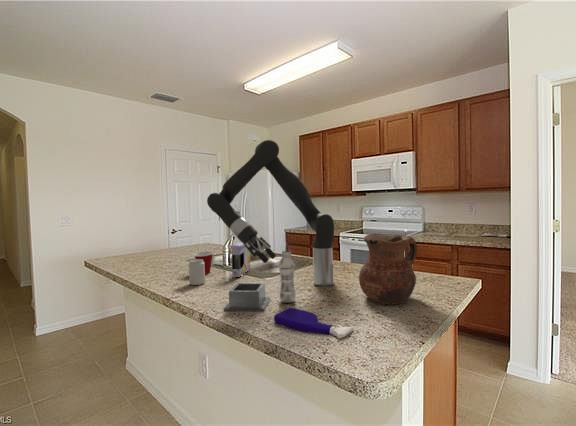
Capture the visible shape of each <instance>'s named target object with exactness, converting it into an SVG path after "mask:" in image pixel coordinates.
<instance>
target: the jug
mask: <svg viewBox="0 0 576 426" xmlns="http://www.w3.org/2000/svg"><path fill="white" fill-rule="evenodd" d="M363 240H364V242H365V244H366V246H367V248H368V255H369V256H368V260H367V261H366V262H365V263H364V264H363V265H362V266H361V268H360V271H359V274H358V275H359V276H358V281H359V285H360V289H361V291H362V292H363V294H364V295H365V297H367V298H368V299H370V300H371V301H373V302H374V303H377V304H380V305H381V304H382V305H397V304H402V303H404V302H406V301H407V300H408V299H409V298H410V297H411V295H413V291H414V289H415V287H416V283H417V278H416V276H417V275H416V274H415V272H414V270H413V266H412V265H413V264H414V262H415V259H416V257H417V255H418V245H417V242H416V240H415V239H414V238H413V237H412V236H409V235H406V234H401V235H399V234H389V235H388V234H383V233H381V234H380V233H371V234H368V235H367V234H366V235H365V236H364V237H363ZM408 245H409V252H408V255H406V257H405V251H406V249H407V247H408Z"/></svg>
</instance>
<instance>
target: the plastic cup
mask: <svg viewBox="0 0 576 426" xmlns="http://www.w3.org/2000/svg"><path fill="white" fill-rule="evenodd" d="M213 254H214V251H212V250H205V251H199V252H195V253H194V254H193V256H194V258H195V259H202V260H203V262H204V263H205V274H206V275H209V274H211V269H212V261H213V260H212V259H213ZM208 273H209V274H208Z"/></svg>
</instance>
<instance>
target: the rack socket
mask: <svg viewBox="0 0 576 426" xmlns="http://www.w3.org/2000/svg"><path fill="white" fill-rule="evenodd" d="M270 301H271V297H270V296H266V283H265V282H237V283H236V284H235V285H234V286H232V287H231V289H230V290H229V291H228V303H227V304H226V305H225V306H224V307H223V311H224V312H265V310H266V308H267V306H268V304H269V302H270Z"/></svg>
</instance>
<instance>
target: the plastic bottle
mask: <svg viewBox="0 0 576 426" xmlns="http://www.w3.org/2000/svg"><path fill="white" fill-rule="evenodd" d="M291 257H292V251H291V250H282V251H281V259H280V261H279V262H278V270H279V271H278V272H279V278H280V288H279V289H280V290H279V300H280V301H281V302H282V303H285V304H287V303H288V304H290V303H293V302H295V300H296V297H297V294H296V293H297V292H296V289H295V282H294V281H295V266H296V264H295V262H294V260H293V259H292V258H291Z"/></svg>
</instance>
